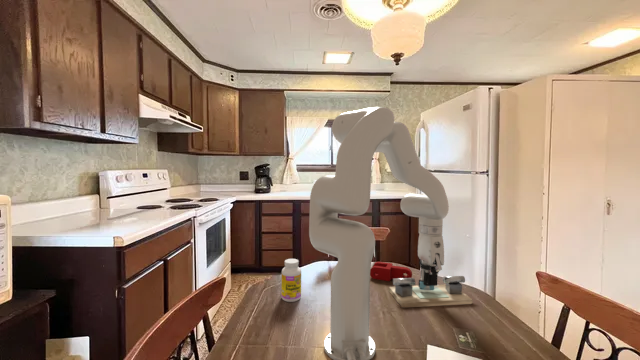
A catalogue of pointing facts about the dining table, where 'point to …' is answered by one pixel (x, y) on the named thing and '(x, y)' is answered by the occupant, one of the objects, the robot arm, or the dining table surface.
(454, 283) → the cylinder and cube
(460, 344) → the dining table surface
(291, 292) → the supplement bottle
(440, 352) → the dining table surface
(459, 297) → the board
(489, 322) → the dining table surface
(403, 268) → the mechanical linkage
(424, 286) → the push button
